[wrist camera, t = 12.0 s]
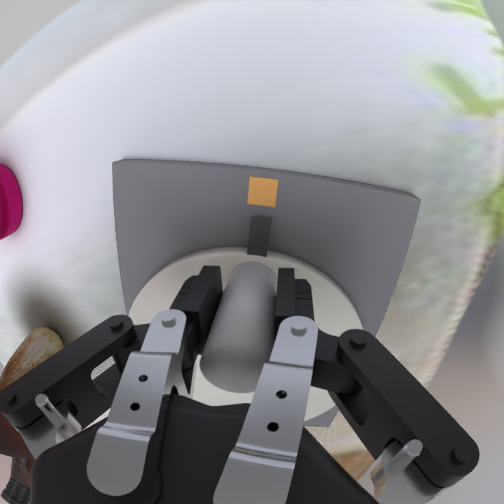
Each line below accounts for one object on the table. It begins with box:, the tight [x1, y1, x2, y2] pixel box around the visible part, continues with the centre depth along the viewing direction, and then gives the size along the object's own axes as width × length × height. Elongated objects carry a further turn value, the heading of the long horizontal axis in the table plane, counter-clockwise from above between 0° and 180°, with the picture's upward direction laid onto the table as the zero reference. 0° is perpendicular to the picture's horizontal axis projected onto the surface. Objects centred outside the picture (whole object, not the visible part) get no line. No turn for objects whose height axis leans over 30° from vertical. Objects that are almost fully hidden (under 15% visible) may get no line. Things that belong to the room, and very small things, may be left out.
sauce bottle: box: [1, 457, 35, 504], centre depth 22 cm, size 7×6×20 cm
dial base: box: [112, 159, 421, 427], centre depth 19 cm, size 21×17×1 cm
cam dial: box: [129, 216, 363, 421], centre depth 15 cm, size 18×16×7 cm
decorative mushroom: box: [0, 327, 64, 459], centre depth 16 cm, size 11×11×15 cm
